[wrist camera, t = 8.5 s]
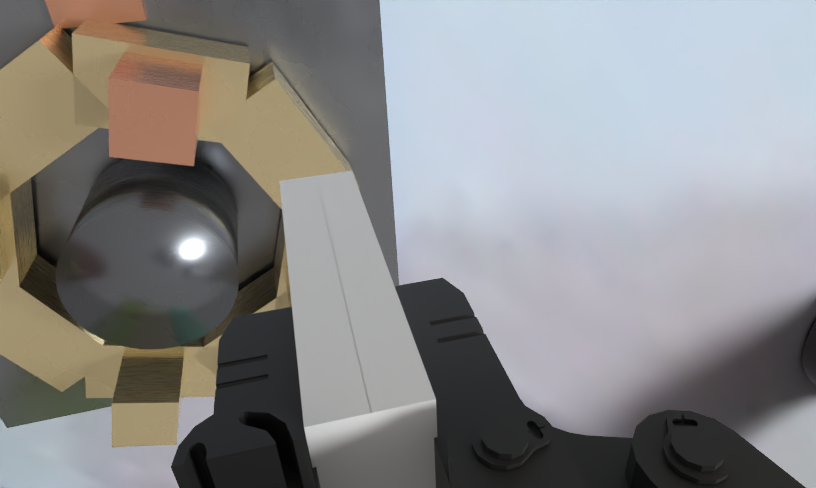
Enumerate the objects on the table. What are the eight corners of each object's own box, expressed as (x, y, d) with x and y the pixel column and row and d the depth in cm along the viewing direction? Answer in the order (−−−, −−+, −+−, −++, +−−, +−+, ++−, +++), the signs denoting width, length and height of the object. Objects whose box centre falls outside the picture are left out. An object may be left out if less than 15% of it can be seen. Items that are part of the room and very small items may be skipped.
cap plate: (369, -65, 22) (408, -48, 17) (398, 333, 33) (427, 413, 28) (-247, -17, 19) (-421, 20, 14) (13, 412, 29) (-31, 520, 24)
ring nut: (-93, -14, 18) (-196, 19, 14) (378, 70, 24) (411, 114, 19) (-33, 360, 26) (-88, 460, 21) (317, 362, 31) (331, 443, 26)
